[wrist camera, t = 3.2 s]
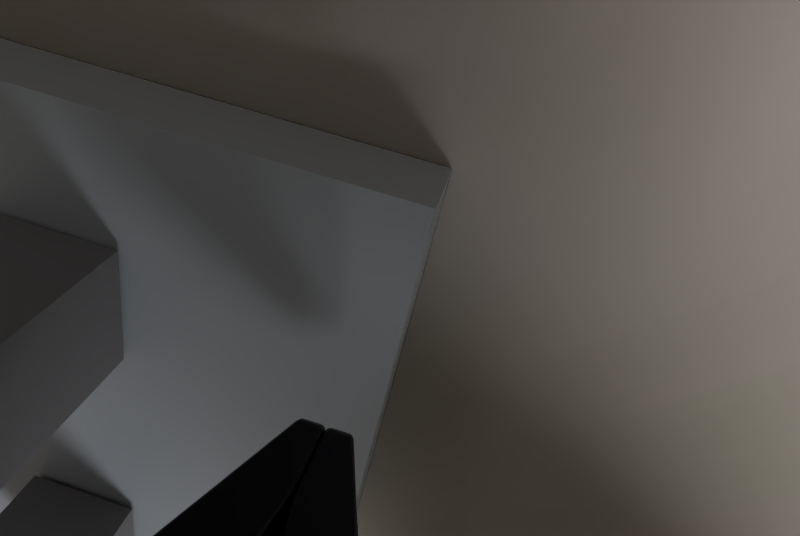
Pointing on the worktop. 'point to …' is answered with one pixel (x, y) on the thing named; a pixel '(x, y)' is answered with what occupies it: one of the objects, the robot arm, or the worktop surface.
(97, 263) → the dark gray block
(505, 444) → the worktop surface
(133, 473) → the panel
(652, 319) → the worktop surface
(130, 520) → the dark grey small block
